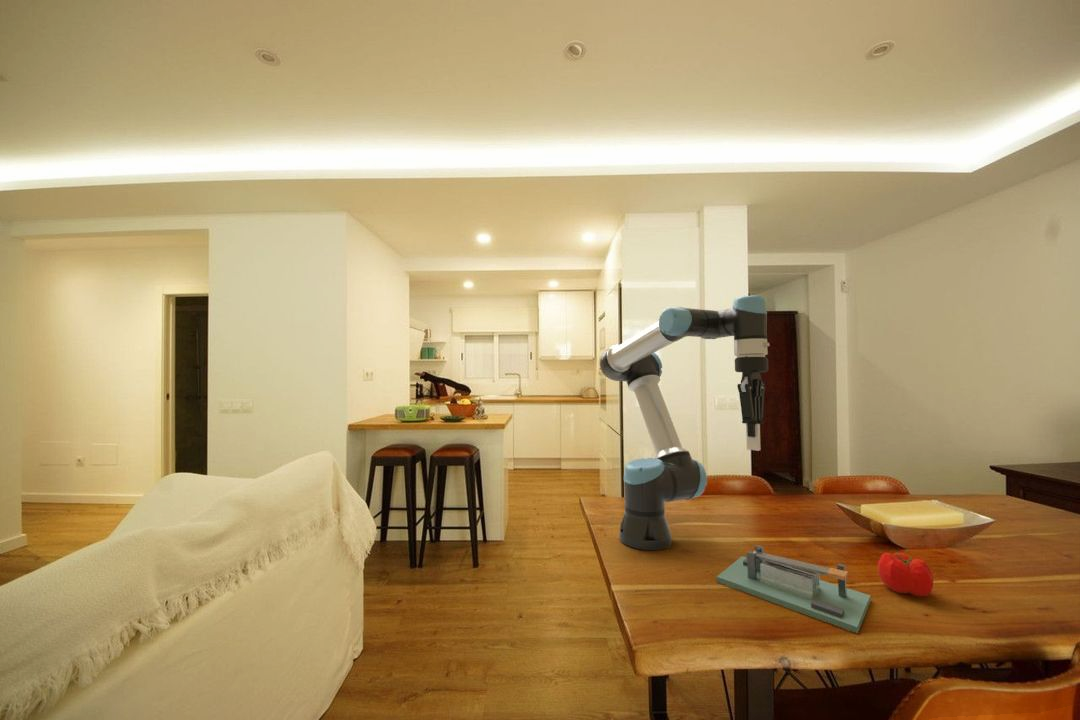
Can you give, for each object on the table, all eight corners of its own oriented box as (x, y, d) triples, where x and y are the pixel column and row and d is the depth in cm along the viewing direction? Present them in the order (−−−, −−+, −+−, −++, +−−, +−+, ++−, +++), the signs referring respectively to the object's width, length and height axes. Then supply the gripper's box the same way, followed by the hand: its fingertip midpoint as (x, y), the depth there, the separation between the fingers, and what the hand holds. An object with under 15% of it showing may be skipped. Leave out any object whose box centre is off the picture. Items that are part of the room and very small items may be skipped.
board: (716, 581, 91) (716, 573, 91) (742, 560, 102) (742, 552, 102) (857, 633, 72) (857, 622, 72) (870, 601, 83) (870, 591, 83)
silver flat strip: (750, 558, 92) (749, 552, 92) (755, 554, 94) (754, 548, 94) (845, 582, 79) (844, 575, 79) (848, 577, 81) (847, 570, 81)
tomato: (869, 581, 92) (868, 548, 92) (908, 581, 91) (906, 548, 92) (905, 603, 82) (903, 567, 83) (948, 603, 82) (946, 567, 82)
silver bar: (747, 578, 91) (746, 550, 91) (758, 567, 96) (757, 541, 96) (839, 609, 78) (838, 577, 78) (846, 595, 83) (845, 565, 83)
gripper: (758, 354, 92) (761, 455, 90) (775, 357, 101) (778, 448, 99) (725, 356, 97) (728, 450, 96) (744, 358, 106) (747, 445, 105)
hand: (753, 449), depth 98 cm, fingers closed
